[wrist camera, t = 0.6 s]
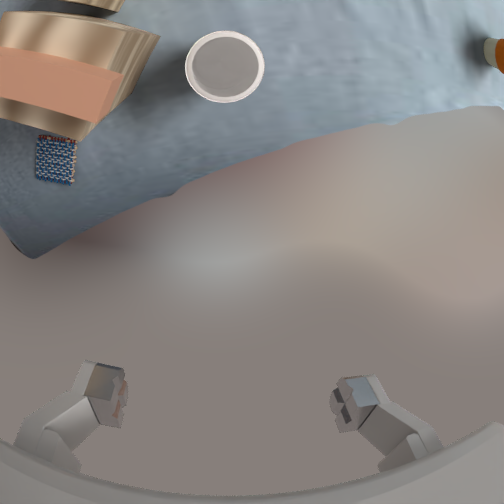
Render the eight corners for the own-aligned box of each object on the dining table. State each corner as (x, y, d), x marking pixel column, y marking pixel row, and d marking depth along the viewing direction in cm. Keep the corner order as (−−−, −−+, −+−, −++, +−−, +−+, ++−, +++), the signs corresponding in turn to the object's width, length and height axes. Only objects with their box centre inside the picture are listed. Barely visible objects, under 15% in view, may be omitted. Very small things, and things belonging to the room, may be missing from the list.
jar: (177, 55, 39) (168, 60, 28) (226, 24, 36) (237, 16, 25) (211, 97, 46) (215, 117, 35) (258, 67, 43) (279, 78, 32)
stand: (61, 72, 34) (-23, 111, 16) (86, 15, 28) (4, 11, 9) (131, 93, 42) (80, 141, 23) (160, 36, 35) (124, 31, 17)
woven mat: (80, 138, 45) (76, 141, 44) (75, 182, 51) (72, 186, 50) (39, 132, 41) (35, 135, 40) (37, 175, 47) (33, 179, 46)
